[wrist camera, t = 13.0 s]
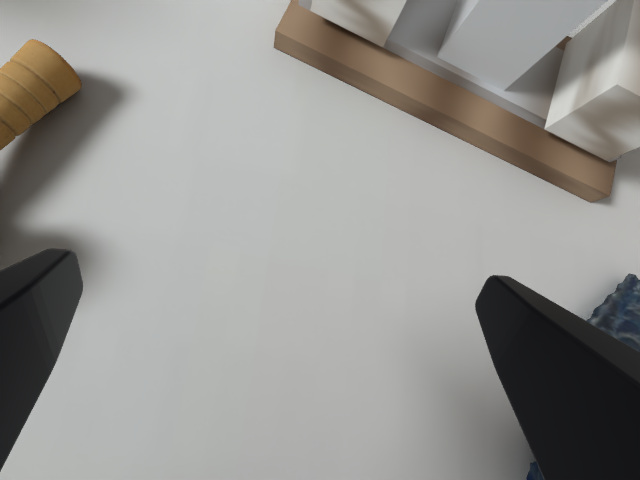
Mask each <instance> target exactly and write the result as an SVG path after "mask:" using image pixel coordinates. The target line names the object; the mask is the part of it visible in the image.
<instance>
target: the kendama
mask: <svg viewBox="0 0 640 480" xmlns="http://www.w3.org/2000/svg"><path fill="white" fill-rule="evenodd" d="M81 88H82V84H81V80H80V79H79V77H78V75H77V74H76V72H75V71H74V69H73V68H72V67H71V66H70V65H69V64H68V63H67V62H66V61H65V60H64V59H63V58H62V57H61V56H60V55H59V54H58V53H57V52H55V51H54V50H53V49H52V48H50V47H49V46H47V45H46V44H44V43H42V42H40V41H38V40H33V39H32V40H29V41H28V42H27V43H26V44H25V45H24V46H23V47H22V48H21V49H20V50H19V51H18V52H17V53H16V54H15V55H14V56H13V57H12V58H11V59H10V62H7V63H6V64H5V65H4V66H3V67H2V68H0V150H1V149H3V148H4V147H5V146H7V145H8V144H9V143H10V142H12V141H13V140H14V139H15V136H19V135H20V134H22V133H23V132H24V131H26V130H27V129H28V128H29V127H30V126H31V124H34V123H36V122H37V121H38V120H40V119H41V118H42V117H43V116H44V115H45V114H48V113H49V112H50V111H51V110H53V109H54V108H55V107H56V106H57V105H58V104H60V103H62V102H63V101H65V100H66V99H68V98H69V97H70V96H72V95H73V94H75V93H76V92H77V91H79V90H80V89H81Z"/></svg>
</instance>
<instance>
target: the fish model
mask: <svg viewBox="0 0 640 480" xmlns="http://www.w3.org/2000/svg"><path fill="white" fill-rule="evenodd" d="M587 322H589V323H590V324H592V325H594V326H596V327H597V328H599V329H601V330H602V331H604V332H606V333H608V334H609V335H611V336H613V337H615V338H616V339H618V340H620V341H622V342H623V343H625V344H627V345H629V346H630V347H632V348H634V349H635V350H637V351H639V352H640V280H638V278H637V277H636V275H634V274H628V275H627V276H626V278H625V280H624V281H623V283H621V284H618V286H617V288H616V290H615V292H614V293H612V294H610V295H608V296H607V298H606V299H605V301H604V303H602V305H600V306H598V307H597V308H596V309H595V310H594V311H593V314H592V316H591V318H590V319H588V320H587ZM527 480H544V478H543V476H542V473H541V471H540V469H539V467H538V464H537V462H536V461H535V462H533V463H530V471H529V473H528V476H527Z"/></svg>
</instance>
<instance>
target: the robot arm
mask: <svg viewBox="0 0 640 480" xmlns="http://www.w3.org/2000/svg"><path fill="white" fill-rule="evenodd" d="M82 291H83V281H82V277H81V273H80V268H79V264H78V260H77V256H76V254H75V253H74V252H73V251H72V250H67V249H47V250H45V251H42V252H40V253H38V254H36V255H34V256H32V257H29V258H27V259H25V260H23V261H21V262H19V263H16V264H14V265H12V266H10V267H8V268H6V269H3V270H1V271H0V471H1V469H2V467H3V465H4V463H5V461H6V459H7V457H8V456H9V454H10V452H11V450H12V448H13V446H14V444H15V442H16V440H17V438H18V436H19V434H20V432H21V430H22V428H23V426H24V424H25V423H26V421H27V419H28V417H29V415H30V413H31V411H32V409H33V407H34V405H35V403H36V401H37V399H38V397H39V395H40V393H41V391H42V390H43V388H44V386H45V384H46V382H47V380H48V378H49V376H50V374H51V372H52V370H53V368H54V366H55V364H56V361H57V359H58V356H59V354H60V351H61V349H62V346H63V343H64V341H65V338H66V335H67V333H68V330H69V327H70V325H71V322H72V319H73V316H74V314H75V311H76V308H77V306H78V303H79V300H80V298H81V295H82ZM475 308H476V313H477V316H478V319H479V322H480V325H481V328H482V331H483V334H484V337H485V340H486V343H487V346H488V349H489V352H490V355H491V358H492V361H493V364H494V367H495V369H496V372H497V374H498V376H499V379H500V381H501V383H502V385H503V388H504V390H505V392H506V394H507V397H508V399H509V401H510V404H511V406H512V408H513V410H514V413H515V415H516V417H517V419H518V422H519V424H520V426H521V428H522V431H523V433H524V435H525V437H526V440H527V442H528V444H529V446H530V449H531V451H532V453H533V455H534V458H535V460H536V462H537V464H538V467H539V469H540V471H541V473H542V476H543V478H544V480H640V352H639V351H637V350H635V349H634V348H632V347H630V346H629V345H627V344H625V343H623V342H622V341H620V340H618V339H616V338H615V337H613V336H611V335H609V334H608V333H606V332H604V331H602V330H601V329H599V328H597V327H596V326H594V325H592V324H590V323H589V322H587V321H585V320H583V319H582V318H580V317H578V316H576V315H575V314H573V313H571V312H570V311H568V310H566V309H564V308H563V307H561V306H559V305H557V304H556V303H554V302H552V301H550V300H549V299H547V298H545V297H544V296H542V295H540V294H538V293H537V292H535V291H533V290H531V289H530V288H528V287H526V286H524V285H523V284H521V283H519V282H517V281H516V280H514V279H512V278H511V277H508V276H498V275H493V276H490V277H489V278H488V279H487V280H486V282H485V284H484V286H483V288H482V290H481V292H480V294H479V296H478V298H477V300H476V303H475Z"/></svg>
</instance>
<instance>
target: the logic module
mask: <svg viewBox="0 0 640 480" xmlns="http://www.w3.org/2000/svg"><path fill="white" fill-rule="evenodd" d="M607 1H608V0H458V1H457V4H456V7H455V10H454V12H453V15H452V18H451V21H450V23H449V26H448V29H447V32H446V34H445V37H444V40H443V43H442V45H441V48H440V51H439V53H438V56H437V57H438V58H440V59H442V60H444V61H446V62H448V63H450V64H452V65H454V66H456V67H458V68H459V69H461V70H463V71H465V72H467V73H469V74H471V75H473V76H475V77H477V78H479V79H481V80H483V81H485V82H487V83H489V84H491V85H493V86H495V87H497V88H499V89H501V90H503V91H504V90H505V89H506V88H507V87H509V86H510V85H511V84H512V83H513V82H514V81H516V80H517V79H518V78H519V77H520V76H521V75H522V74H524V73H525V72H526V71H527V70H528V69H529V68H531V67H532V66H533V65H534V64H535V63H536V62H537V61H539V60H540V59H541V58H542V57H543V56H544V55H546V54H547V53H548V52H549V51H550V50H551V49H552V48H554V47H555V46H556V45H557V44H558V43H559V42H561V41H562V40H563V39H564V38H565V37H566V36H567V35H569V34H570V33H571V32H572V31H573V30H574V29H576V28H577V27H578V26H579V25H580V24H581V23H582V22H584V21H585V20H586V19H587V18H588V17H589V16H590V15H592V14H593V13H594V12H595V11H596V10H597V9H599V8H600V7H601V6H602V5H603V4H604V3H605V2H607Z"/></svg>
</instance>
